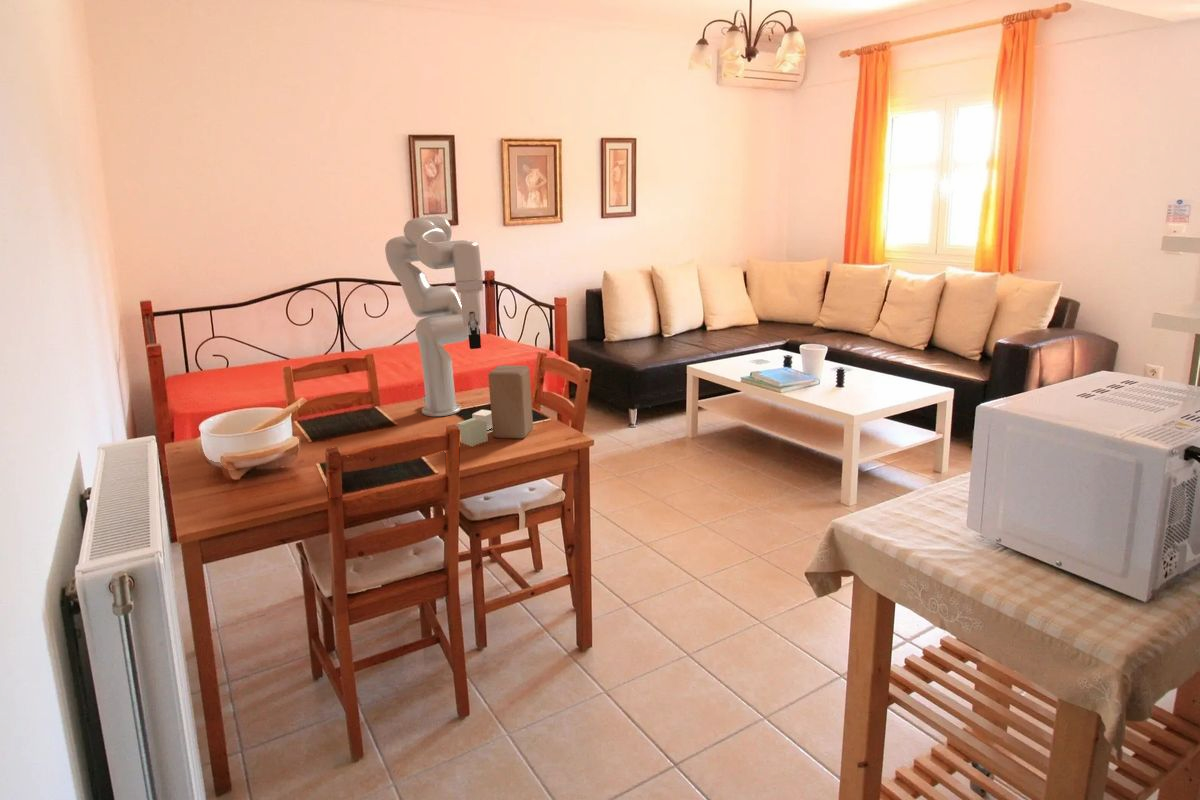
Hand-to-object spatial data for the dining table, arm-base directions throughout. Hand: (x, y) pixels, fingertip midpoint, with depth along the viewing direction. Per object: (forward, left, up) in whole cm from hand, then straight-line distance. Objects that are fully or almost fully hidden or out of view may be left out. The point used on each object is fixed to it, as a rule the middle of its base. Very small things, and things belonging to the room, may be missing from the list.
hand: (475, 345), depth 219 cm
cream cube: (-4, +4, -27) cm, 28 cm away
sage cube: (+3, -6, -27) cm, 28 cm away
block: (+7, +6, -27) cm, 29 cm away
